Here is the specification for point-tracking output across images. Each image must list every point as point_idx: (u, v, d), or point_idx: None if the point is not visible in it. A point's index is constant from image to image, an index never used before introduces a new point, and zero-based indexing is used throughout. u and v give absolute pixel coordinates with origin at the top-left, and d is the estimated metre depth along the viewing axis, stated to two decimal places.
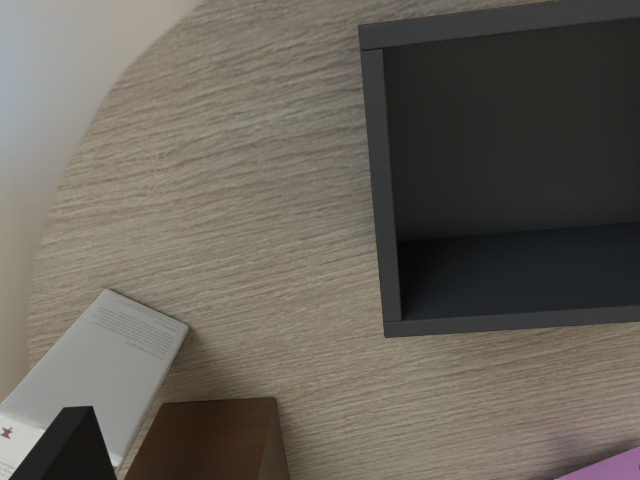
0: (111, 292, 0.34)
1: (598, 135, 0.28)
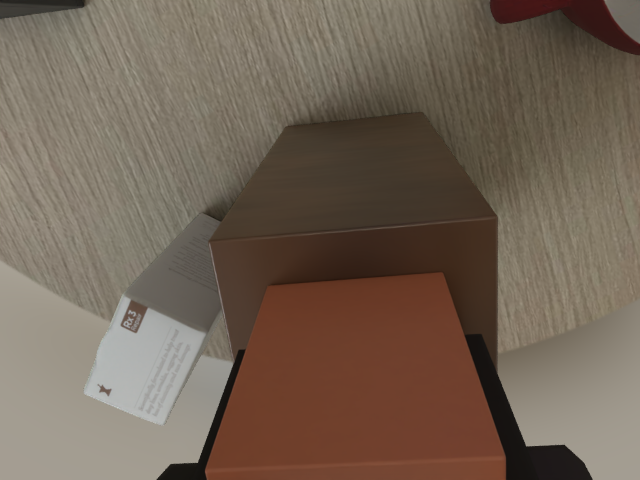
0: None
1: None
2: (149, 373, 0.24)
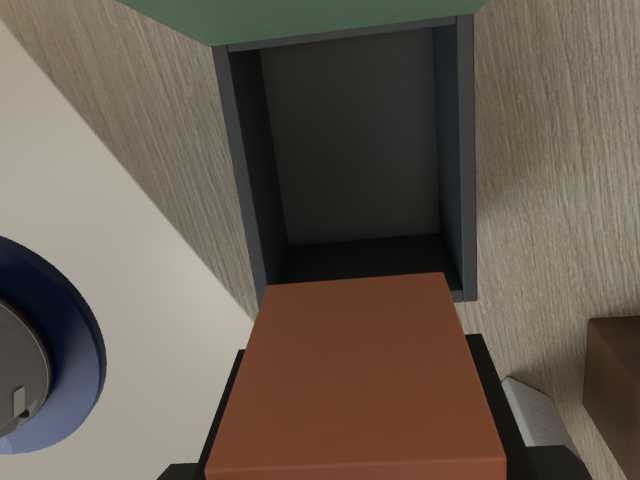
0: None
1: (355, 79, 0.35)
2: None
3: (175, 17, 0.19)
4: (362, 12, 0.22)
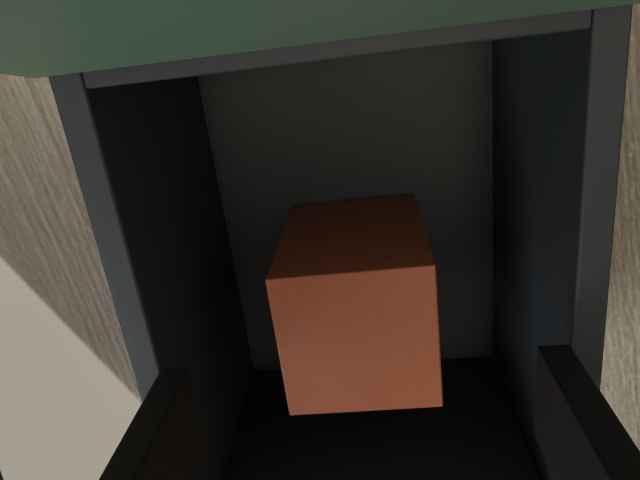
0: None
1: (359, 119, 0.21)
2: None
3: None
4: None
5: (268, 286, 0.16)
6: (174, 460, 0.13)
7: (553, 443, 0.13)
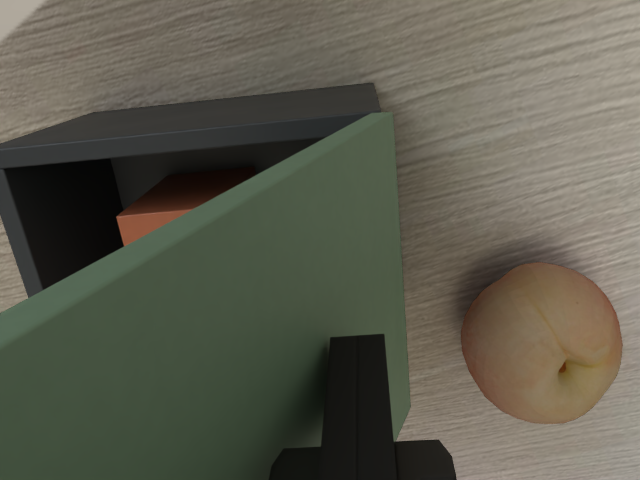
0: None
1: None
2: None
3: None
4: None
5: None
6: None
7: None
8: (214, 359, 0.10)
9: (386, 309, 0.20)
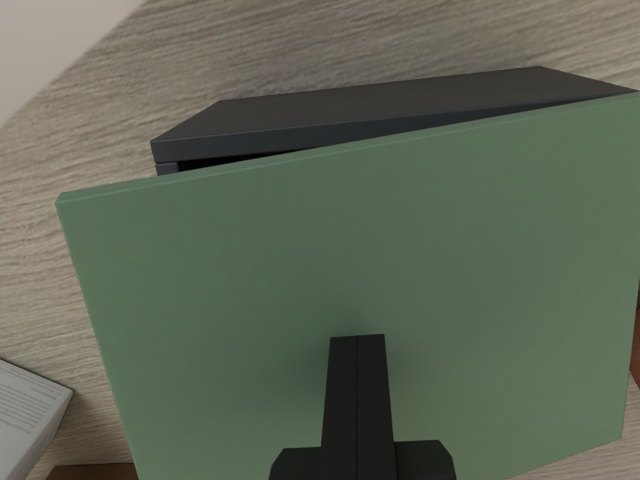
0: None
1: None
2: None
3: None
4: None
5: None
6: None
7: None
8: (282, 259, 0.14)
9: (584, 313, 0.18)
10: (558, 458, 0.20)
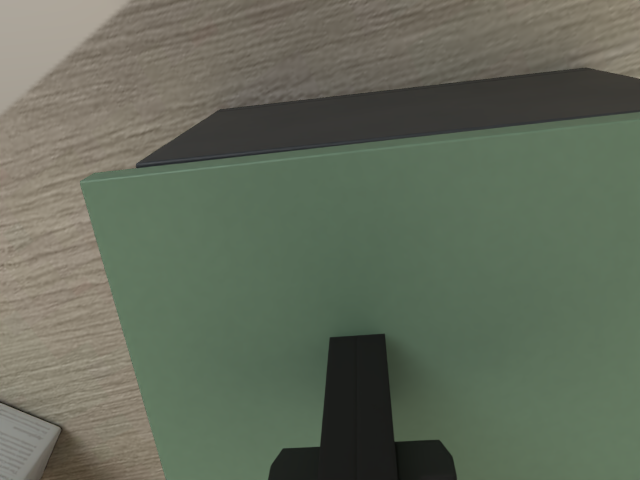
0: None
1: None
2: None
3: None
4: None
5: None
6: None
7: None
8: (282, 253, 0.14)
9: None
10: None
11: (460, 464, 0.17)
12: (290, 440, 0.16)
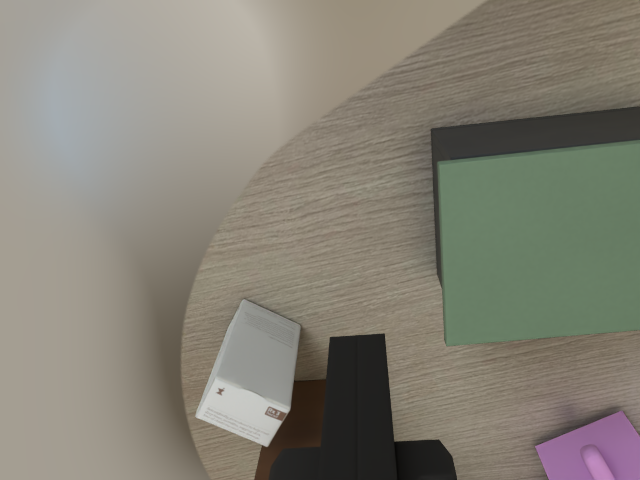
0: (248, 301, 0.49)
1: None
2: (236, 417, 0.39)
3: None
4: None
5: None
6: None
7: None
8: (521, 196, 0.33)
9: None
10: None
11: (589, 300, 0.35)
12: (509, 288, 0.35)
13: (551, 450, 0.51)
